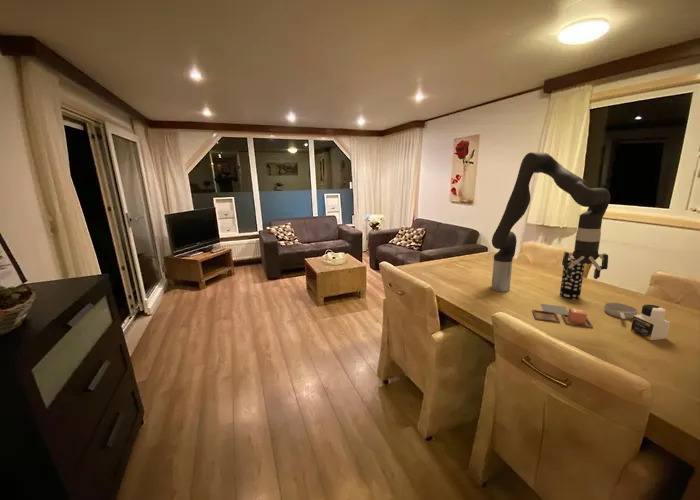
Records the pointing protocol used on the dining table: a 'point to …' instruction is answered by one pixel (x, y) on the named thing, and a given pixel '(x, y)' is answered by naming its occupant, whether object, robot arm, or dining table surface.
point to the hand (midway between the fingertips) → (582, 277)
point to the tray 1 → (545, 316)
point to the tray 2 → (567, 322)
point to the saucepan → (624, 310)
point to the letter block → (577, 316)
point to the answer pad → (554, 309)
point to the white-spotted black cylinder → (572, 281)
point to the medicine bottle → (651, 323)
